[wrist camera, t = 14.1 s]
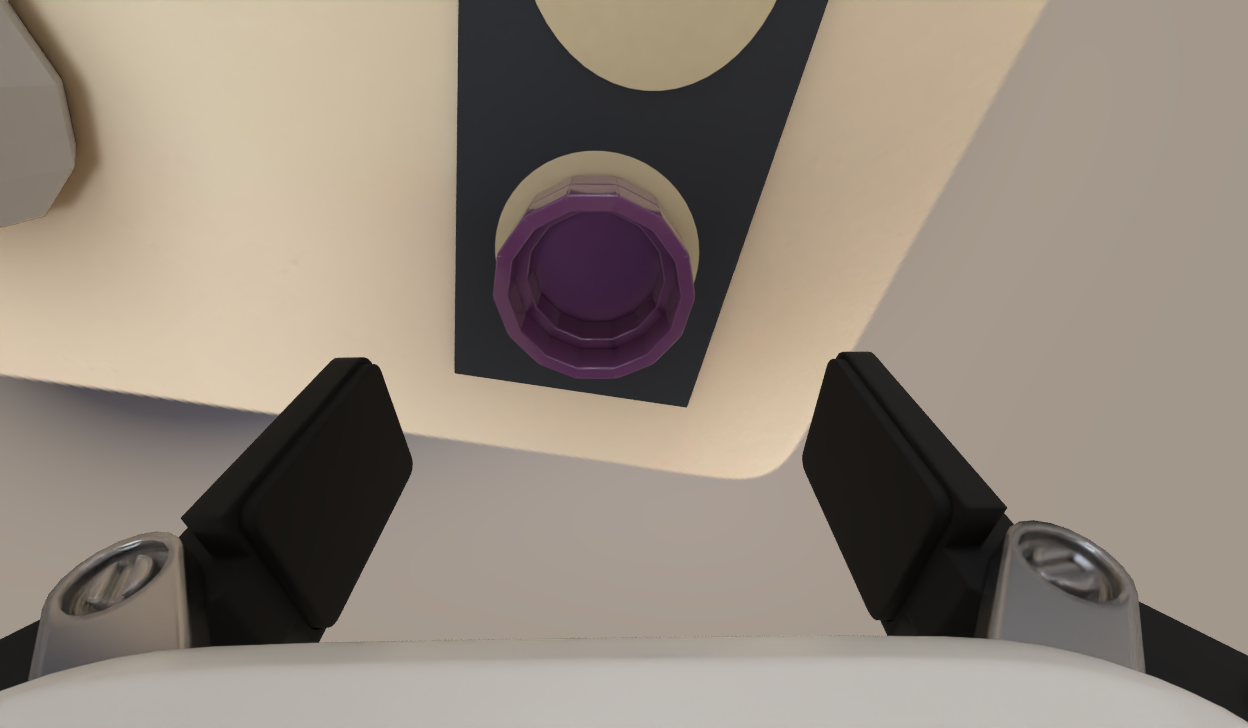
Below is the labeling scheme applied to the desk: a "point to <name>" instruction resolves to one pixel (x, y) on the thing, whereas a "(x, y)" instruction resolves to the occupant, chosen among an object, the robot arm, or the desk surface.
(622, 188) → the plum dish
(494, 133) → the mat
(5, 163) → the jar
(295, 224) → the desk surface
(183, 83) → the desk surface
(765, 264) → the desk surface
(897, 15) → the desk surface
